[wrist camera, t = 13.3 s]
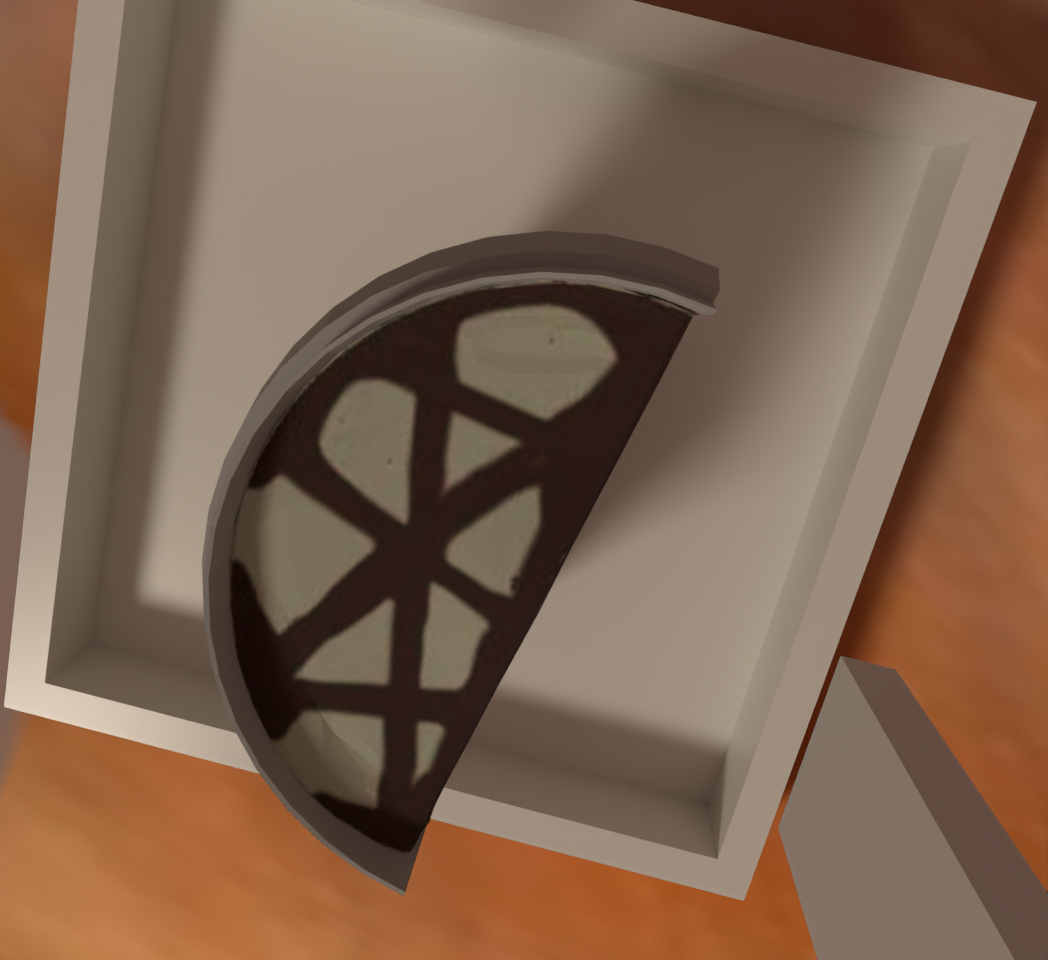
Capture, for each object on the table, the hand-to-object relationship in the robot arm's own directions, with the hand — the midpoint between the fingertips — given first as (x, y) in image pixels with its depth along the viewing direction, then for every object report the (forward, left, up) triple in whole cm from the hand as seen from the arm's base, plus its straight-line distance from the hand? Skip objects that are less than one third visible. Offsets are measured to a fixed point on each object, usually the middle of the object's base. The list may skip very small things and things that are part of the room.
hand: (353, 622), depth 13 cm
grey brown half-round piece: (0, 0, -12) cm, 12 cm away
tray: (0, 0, -13) cm, 13 cm away
